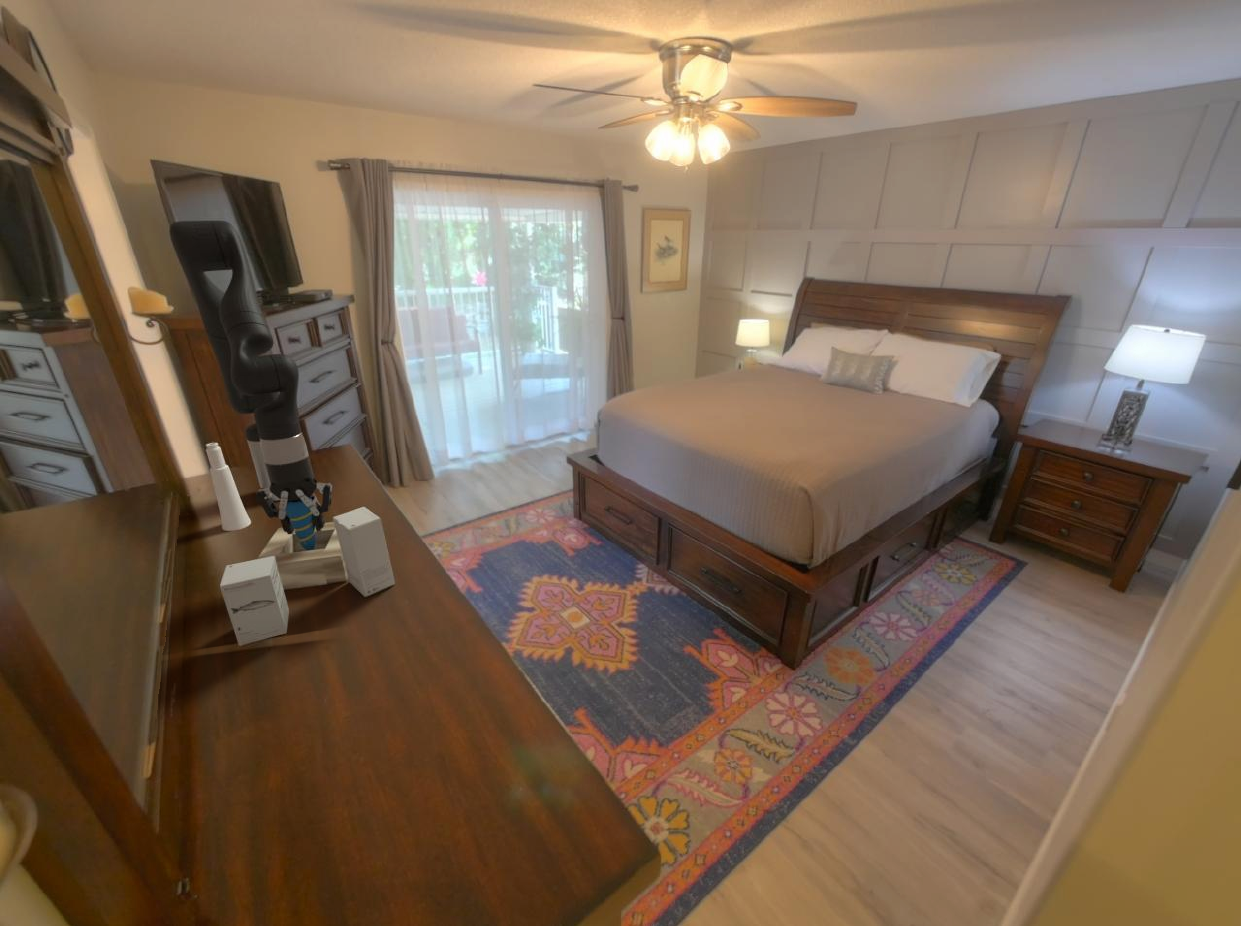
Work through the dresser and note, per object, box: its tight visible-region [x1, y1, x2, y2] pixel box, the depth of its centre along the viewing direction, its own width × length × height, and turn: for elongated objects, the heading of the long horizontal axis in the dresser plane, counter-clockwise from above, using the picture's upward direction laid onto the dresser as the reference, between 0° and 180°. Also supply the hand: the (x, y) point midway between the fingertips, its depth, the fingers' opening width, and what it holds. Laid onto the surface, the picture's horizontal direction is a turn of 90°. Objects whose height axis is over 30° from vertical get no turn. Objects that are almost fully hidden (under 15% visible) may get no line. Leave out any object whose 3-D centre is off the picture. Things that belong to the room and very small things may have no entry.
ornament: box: [285, 498, 316, 551], centre depth 107 cm, size 5×5×15 cm
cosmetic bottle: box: [205, 442, 252, 532], centre depth 123 cm, size 6×6×22 cm
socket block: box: [256, 521, 349, 591], centre depth 110 cm, size 16×16×6 cm
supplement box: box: [219, 556, 290, 647], centre depth 90 cm, size 7×7×13 cm
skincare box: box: [332, 506, 396, 598], centre depth 102 cm, size 8×7×16 cm
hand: (305, 530), depth 108 cm, fingers closed on ornament, 5 cm apart
